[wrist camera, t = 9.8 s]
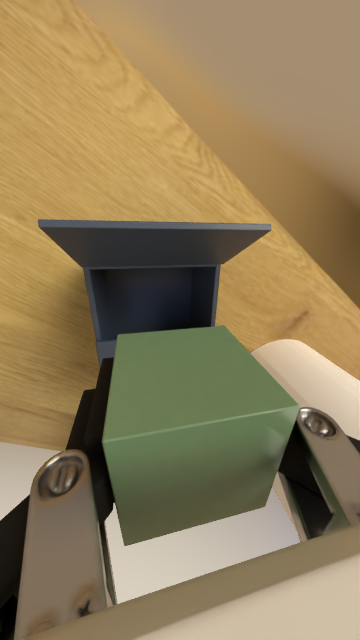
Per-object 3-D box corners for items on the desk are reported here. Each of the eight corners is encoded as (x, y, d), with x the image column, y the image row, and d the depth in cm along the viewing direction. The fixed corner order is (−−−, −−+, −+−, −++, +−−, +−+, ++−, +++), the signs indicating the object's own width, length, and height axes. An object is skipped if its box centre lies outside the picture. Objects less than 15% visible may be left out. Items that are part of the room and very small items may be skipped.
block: (117, 333, 9) (100, 442, 4) (224, 325, 10) (301, 406, 5) (127, 416, 11) (123, 547, 6) (215, 402, 12) (265, 507, 7)
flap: (81, 267, 17) (81, 262, 17) (223, 264, 20) (223, 260, 20) (38, 227, 10) (37, 219, 10) (271, 230, 12) (271, 223, 12)
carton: (98, 252, 26) (80, 265, 17) (195, 251, 29) (224, 262, 20) (113, 350, 32) (105, 398, 23) (191, 342, 35) (211, 383, 26)
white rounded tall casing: (309, 347, 42) (241, 415, 46) (278, 320, 37) (205, 398, 41) (834, 706, 10) (467, 808, 15) (1057, 818, 6) (427, 919, 10)
